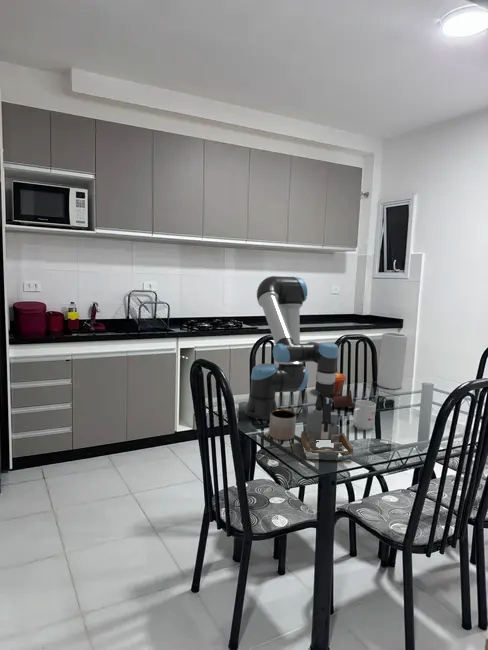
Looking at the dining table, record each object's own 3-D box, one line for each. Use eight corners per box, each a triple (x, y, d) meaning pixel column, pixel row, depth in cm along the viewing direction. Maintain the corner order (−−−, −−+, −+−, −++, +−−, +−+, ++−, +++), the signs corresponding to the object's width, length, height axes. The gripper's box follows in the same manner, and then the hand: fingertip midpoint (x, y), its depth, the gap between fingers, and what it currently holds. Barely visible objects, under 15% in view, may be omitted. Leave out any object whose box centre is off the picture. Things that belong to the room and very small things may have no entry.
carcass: (306, 459, 170) (307, 446, 169) (300, 443, 184) (301, 431, 183) (351, 461, 170) (353, 448, 169) (342, 444, 184) (343, 433, 184)
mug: (360, 421, 211) (363, 398, 210) (377, 428, 205) (380, 404, 203) (344, 427, 204) (347, 403, 202) (361, 433, 197) (364, 409, 195)
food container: (317, 387, 262) (319, 369, 261) (345, 391, 258) (347, 373, 256) (312, 395, 247) (314, 375, 246) (342, 399, 243) (344, 380, 241)
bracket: (370, 409, 222) (367, 388, 224) (335, 411, 225) (332, 391, 228) (370, 409, 227) (367, 389, 230) (335, 412, 231) (333, 392, 233)
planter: (292, 431, 196) (294, 409, 194) (296, 441, 185) (298, 419, 184) (267, 430, 195) (269, 408, 194) (269, 440, 185) (271, 417, 183)
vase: (381, 389, 266) (387, 336, 261) (373, 382, 280) (378, 331, 275) (405, 390, 267) (412, 337, 262) (395, 383, 281) (401, 332, 276)
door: (306, 442, 185) (309, 414, 183) (305, 438, 189) (307, 410, 187) (336, 444, 185) (338, 415, 183) (334, 440, 189) (336, 412, 187)
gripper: (342, 391, 171) (336, 445, 175) (328, 373, 196) (324, 421, 199) (322, 390, 171) (317, 444, 174) (311, 372, 195) (307, 420, 199)
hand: (321, 432), depth 187 cm, fingers open, 13 cm apart
